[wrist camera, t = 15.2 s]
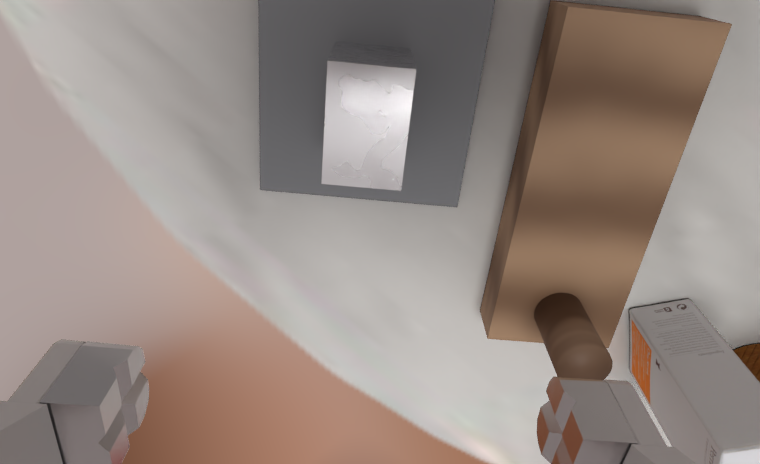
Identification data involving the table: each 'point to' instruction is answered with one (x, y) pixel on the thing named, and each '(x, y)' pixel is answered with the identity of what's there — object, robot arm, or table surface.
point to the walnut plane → (593, 173)
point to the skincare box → (695, 384)
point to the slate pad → (430, 97)
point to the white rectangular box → (367, 115)
